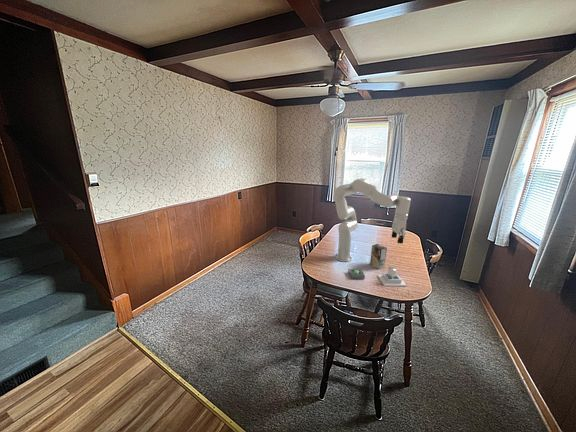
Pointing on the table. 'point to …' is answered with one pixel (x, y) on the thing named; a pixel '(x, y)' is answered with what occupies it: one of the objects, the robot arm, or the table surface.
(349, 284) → the table surface
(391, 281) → the white square tray
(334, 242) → the table surface
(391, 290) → the table surface
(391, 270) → the cylinder
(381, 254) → the coffee box
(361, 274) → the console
